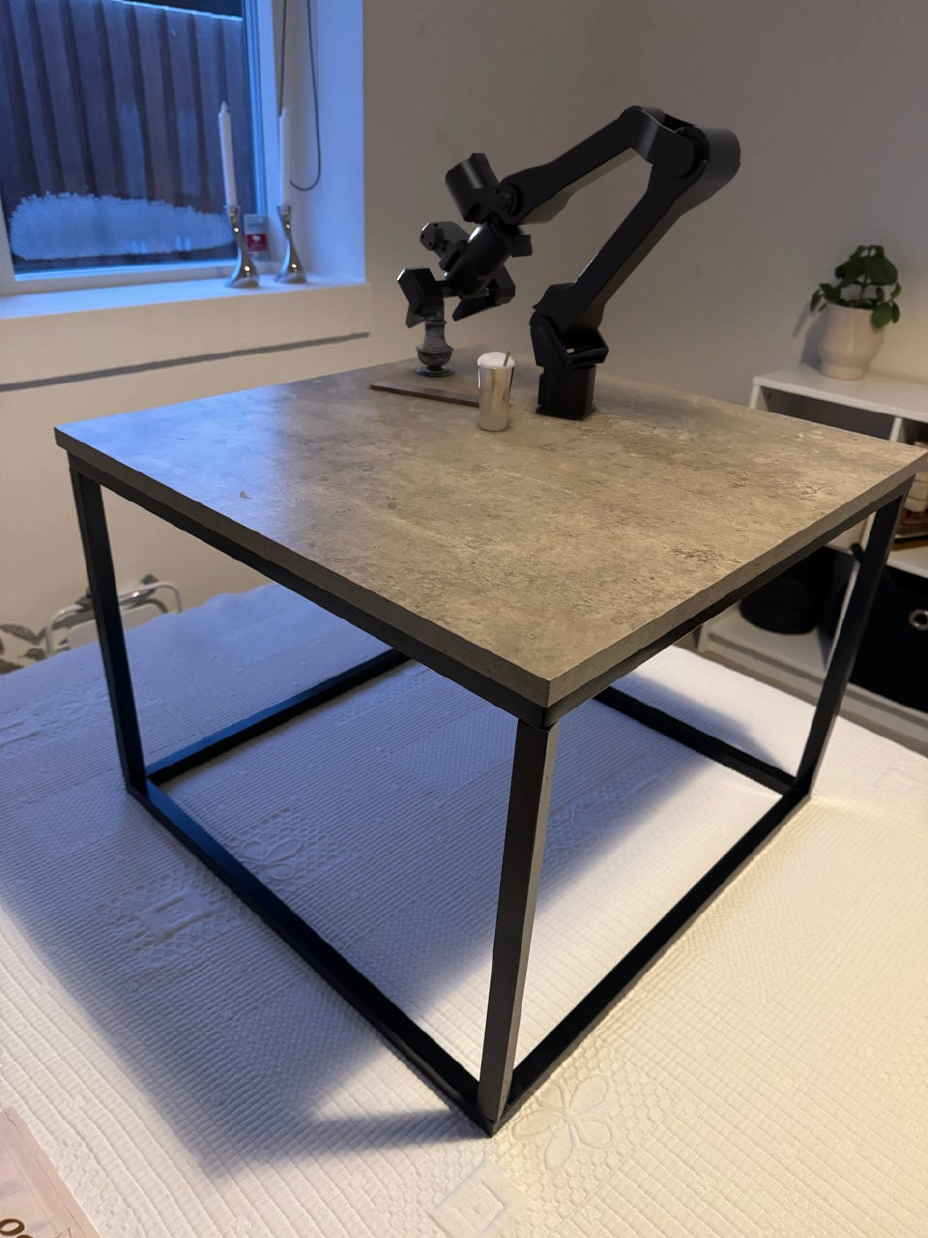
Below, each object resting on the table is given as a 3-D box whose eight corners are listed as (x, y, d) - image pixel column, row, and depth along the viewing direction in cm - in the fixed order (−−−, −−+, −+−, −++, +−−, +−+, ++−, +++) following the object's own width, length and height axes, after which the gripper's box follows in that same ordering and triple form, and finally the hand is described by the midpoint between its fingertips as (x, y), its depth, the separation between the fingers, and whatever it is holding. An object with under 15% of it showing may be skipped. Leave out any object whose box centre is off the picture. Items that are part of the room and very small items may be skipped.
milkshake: (487, 436, 105) (491, 352, 100) (469, 423, 109) (472, 342, 104) (520, 432, 106) (525, 349, 101) (501, 420, 110) (505, 340, 105)
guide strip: (507, 404, 117) (507, 400, 117) (497, 410, 114) (498, 405, 114) (381, 383, 124) (381, 379, 124) (370, 388, 122) (370, 384, 122)
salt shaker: (409, 374, 130) (409, 290, 124) (422, 365, 135) (423, 284, 129) (446, 378, 128) (448, 293, 122) (458, 369, 133) (460, 287, 127)
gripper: (506, 199, 122) (452, 271, 135) (406, 203, 111) (357, 281, 123) (543, 266, 121) (484, 332, 134) (445, 276, 110) (391, 347, 123)
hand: (431, 322), depth 128 cm, fingers open, 9 cm apart
